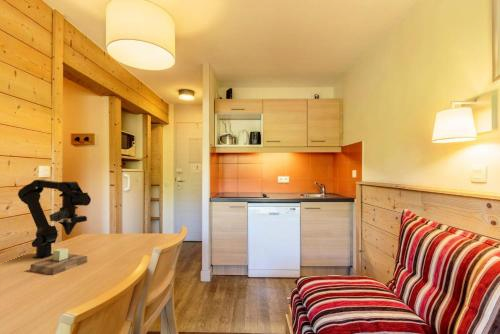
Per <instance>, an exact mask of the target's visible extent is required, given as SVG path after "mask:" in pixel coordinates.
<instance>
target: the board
mask: <svg viewBox="0 0 500 334" xmlns="http://www.w3.org/2000/svg"><path fill="white" fill-rule="evenodd" d="M86 263H88V255H81V254H72V253H68V260H65V261H62V262H60V263H57V262H53V257H51V258H47V259H45V260H44V259H43V260H40V261H37V262H34V263H31V264H30V272H32V273H38V274H45V275H52V276H54V275H57V274H59V273H60V274H61V273H63V272H66V271H68V270H70V269H73V268H75V267H79V266H81V265H84V264H86Z"/></svg>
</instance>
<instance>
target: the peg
mask: <svg viewBox="0 0 500 334" xmlns="http://www.w3.org/2000/svg"><path fill="white" fill-rule="evenodd" d="M52 252H53V253H52V254H53V255H52V258H53V262H57V263H60V262H62V261H65V260H68V254H69V248H63V247H60V248H58V249H53V251H52Z"/></svg>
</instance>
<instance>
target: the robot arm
mask: <svg viewBox="0 0 500 334" xmlns="http://www.w3.org/2000/svg"><path fill="white" fill-rule="evenodd" d="M79 185H80V184H79V183H78V182H77V181H54V180H46V179H35V180H33V181H32V182H30V183H29V184H26V185H24V186H23V187H21V188H20V189H19V191H18V192H17V196H18V198H19V200H21V201H20V202H22V203H23V204H24V205H27V208H28V210H29V213H30V214H31V215H30V216H31V217H32V220H33V222H34V223H35V226H36V232H35V238H34V240H33V241H31V247H32V248H36V249H35V255H34V256H32V258H34V259H40V260H41V259H45V258H48V257H53V253H52V244H55V243H56V241H57V238H58V237H59V234H58V232H59V231H58V230H57V227H56V226H55V225H51V224H50V223H49V222H48V219H47V217H46V214H45V212H44V210H43V207H42V205H41V203H40V199H41V193H42V192H43V191H44V189H45V188H46V189H51V190H53V189H54V190H57V191H58V192H61V193H60V194H59V195H58V196H59V198H61V197H62V205H61V207H59V209H58V211H55V212H53V213H51V214H50V215H48V216H49V221H50V222H56V223H58V224H61V225H62V227H63V229H64V232H65V234H66V236H69V235H71V232H72V231H73V229H74V227H76V225H77V224H78V223H84V222H87V221H88V217H87V216H86V215H78V214H77V213H76V211H77V209H78V208H79V207H80V206H81V207H82V206H86V207H87V206H89V205H90V203H91V202H92V198H91V196H90V195H89V193H88V192H83V190H82V189H81V187H80V186H79ZM78 206H79V207H78Z"/></svg>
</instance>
